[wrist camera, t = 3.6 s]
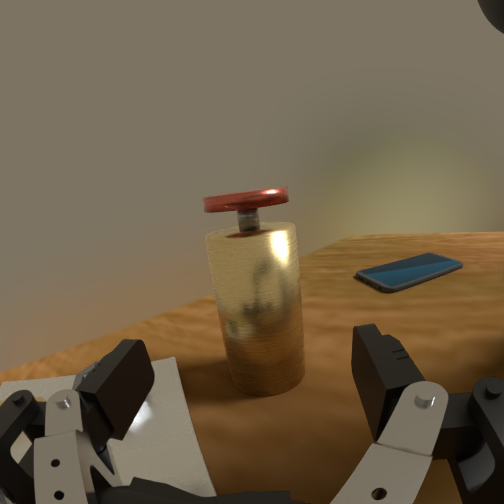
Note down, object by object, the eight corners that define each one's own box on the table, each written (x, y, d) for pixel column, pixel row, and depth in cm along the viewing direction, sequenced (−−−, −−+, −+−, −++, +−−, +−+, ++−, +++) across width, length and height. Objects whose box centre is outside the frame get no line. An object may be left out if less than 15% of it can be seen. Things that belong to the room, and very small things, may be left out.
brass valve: (285, 344, 22) (268, 187, 19) (319, 378, 17) (308, 185, 14) (222, 363, 20) (192, 198, 17) (245, 405, 15) (209, 198, 13)
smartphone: (352, 278, 35) (352, 271, 35) (429, 257, 38) (429, 251, 38) (388, 297, 28) (389, 289, 27) (465, 268, 31) (465, 262, 30)
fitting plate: (177, 364, 20) (170, 340, 20) (228, 520, 8) (216, 502, 7) (7, 388, 15) (-4, 367, 15) (-39, 503, 2) (-63, 479, 2)
